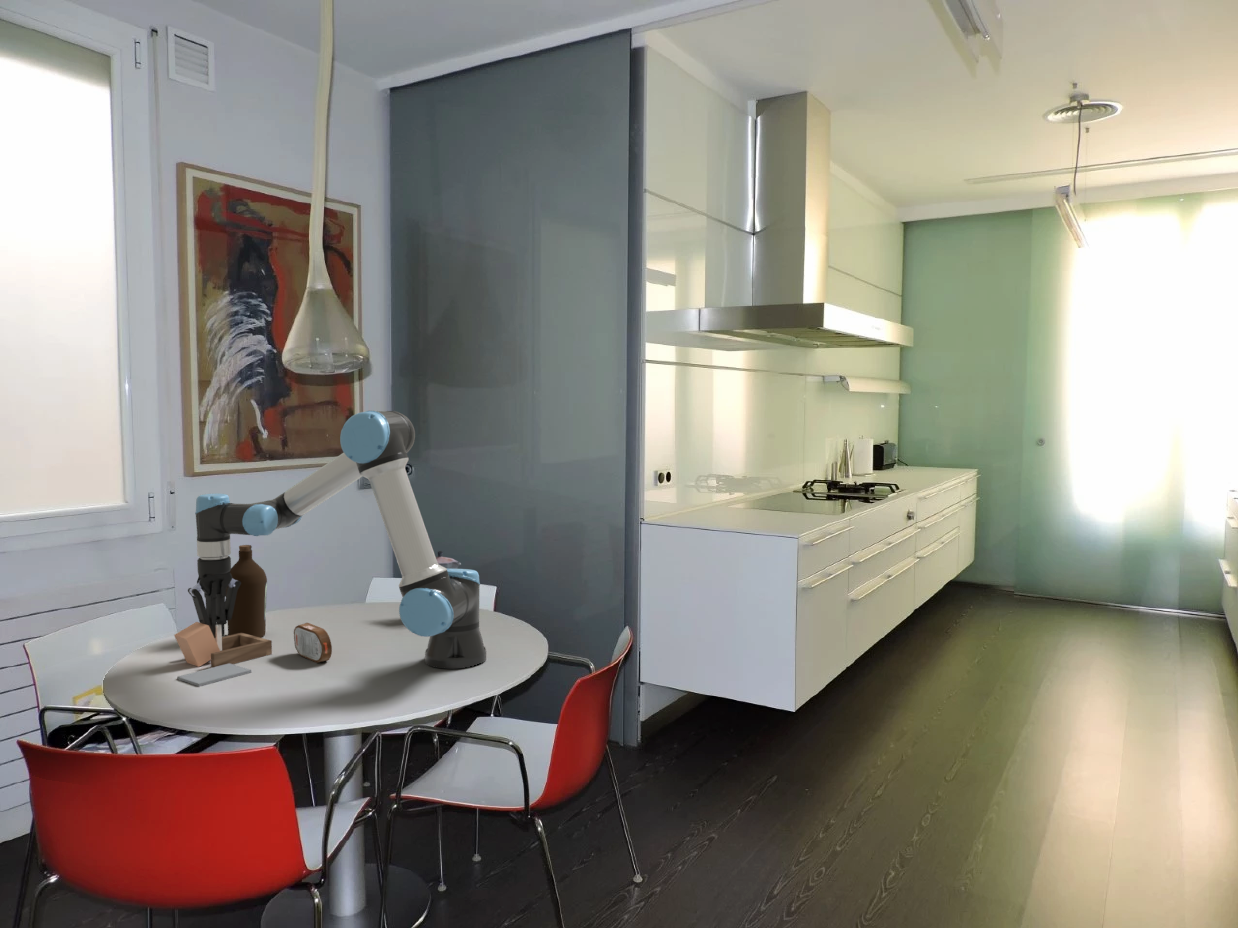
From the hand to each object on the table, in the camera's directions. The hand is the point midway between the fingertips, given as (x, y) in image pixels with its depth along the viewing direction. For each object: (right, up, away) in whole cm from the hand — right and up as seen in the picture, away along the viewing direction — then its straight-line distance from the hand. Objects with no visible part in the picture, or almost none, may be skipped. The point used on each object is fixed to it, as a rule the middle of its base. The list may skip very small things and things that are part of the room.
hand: (216, 649), depth 220 cm
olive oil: (-1, -1, +22) cm, 22 cm away
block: (-2, -1, -3) cm, 4 cm away
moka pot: (+45, 0, +46) cm, 64 cm away
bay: (+2, -2, +2) cm, 4 cm away
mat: (+6, -3, -13) cm, 15 cm away
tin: (+23, -3, +1) cm, 24 cm away
